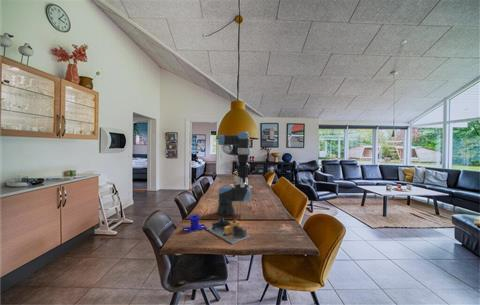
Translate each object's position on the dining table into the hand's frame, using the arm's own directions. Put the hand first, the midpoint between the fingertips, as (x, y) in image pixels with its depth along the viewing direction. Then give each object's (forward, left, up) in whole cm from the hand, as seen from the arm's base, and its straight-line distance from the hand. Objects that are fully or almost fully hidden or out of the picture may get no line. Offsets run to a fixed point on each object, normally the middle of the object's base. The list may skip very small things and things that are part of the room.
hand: (242, 187), depth 150 cm
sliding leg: (+5, -14, -27) cm, 31 cm away
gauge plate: (+2, -15, -29) cm, 33 cm away
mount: (-18, -28, -29) cm, 44 cm away
